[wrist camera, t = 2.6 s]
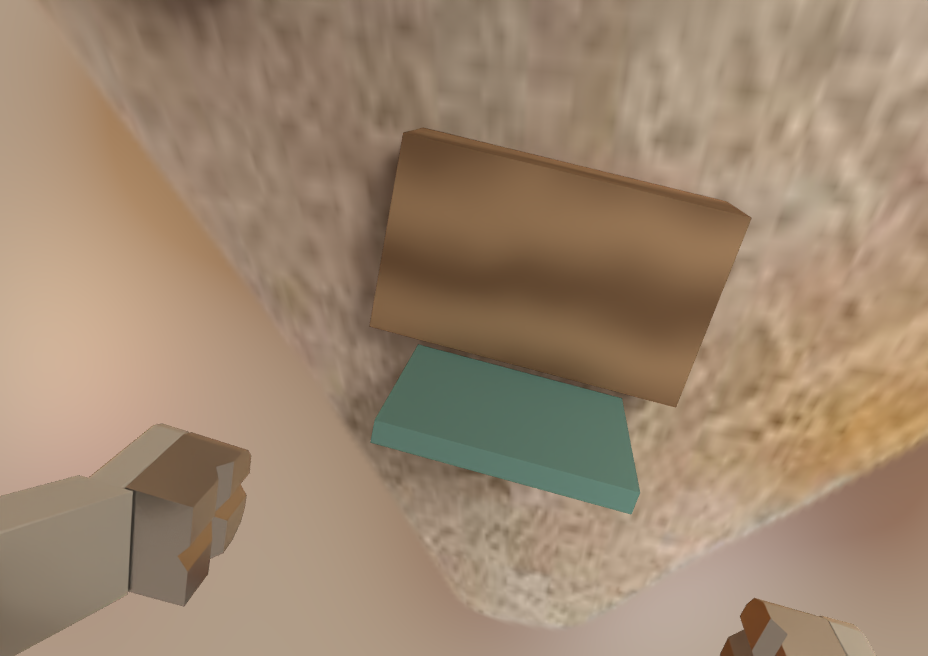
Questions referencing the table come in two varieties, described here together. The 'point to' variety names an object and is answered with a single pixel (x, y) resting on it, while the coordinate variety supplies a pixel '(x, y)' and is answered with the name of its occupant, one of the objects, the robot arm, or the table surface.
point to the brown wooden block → (552, 264)
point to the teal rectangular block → (511, 427)
